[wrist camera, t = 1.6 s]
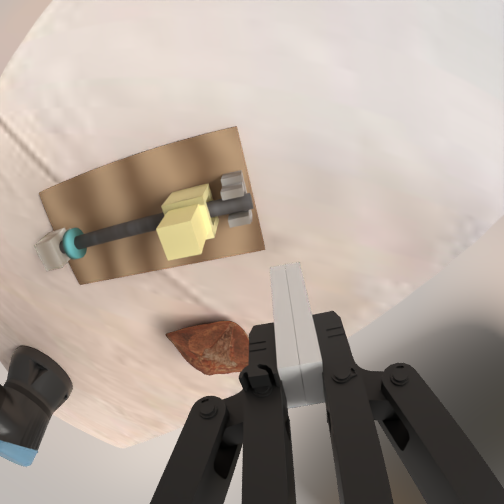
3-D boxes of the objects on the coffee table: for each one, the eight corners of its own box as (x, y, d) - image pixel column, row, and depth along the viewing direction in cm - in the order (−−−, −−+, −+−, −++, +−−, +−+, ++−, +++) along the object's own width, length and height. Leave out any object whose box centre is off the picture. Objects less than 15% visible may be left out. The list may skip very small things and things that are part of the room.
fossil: (150, 336, 38) (181, 387, 31) (186, 286, 39) (226, 329, 31) (212, 360, 47) (248, 401, 39) (244, 320, 47) (285, 357, 40)
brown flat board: (81, 282, 38) (65, 305, 34) (41, 191, 32) (17, 206, 27) (264, 247, 36) (266, 271, 31) (236, 126, 29) (233, 131, 24)
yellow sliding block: (183, 228, 33) (165, 267, 26) (172, 192, 31) (148, 223, 24) (219, 220, 32) (209, 259, 25) (208, 183, 30) (194, 212, 23)
